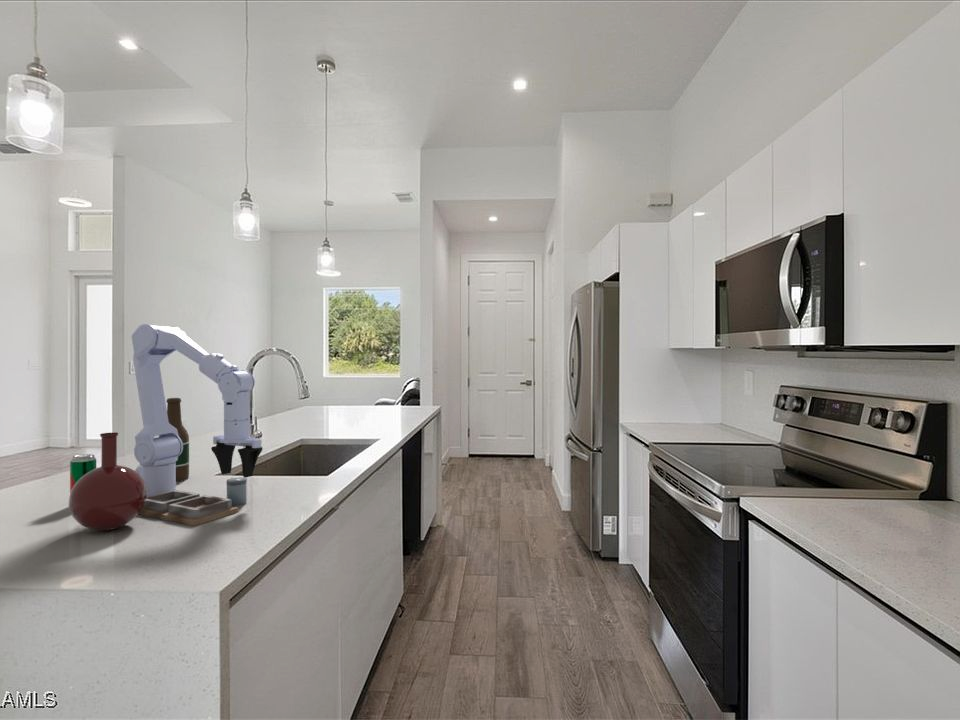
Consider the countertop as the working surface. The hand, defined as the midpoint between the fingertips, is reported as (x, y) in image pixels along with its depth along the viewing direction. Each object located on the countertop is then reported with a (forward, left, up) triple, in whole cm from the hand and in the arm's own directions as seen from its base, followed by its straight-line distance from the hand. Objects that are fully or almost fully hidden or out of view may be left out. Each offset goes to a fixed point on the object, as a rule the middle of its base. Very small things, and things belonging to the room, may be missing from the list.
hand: (236, 475), depth 125 cm
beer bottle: (-37, +9, -7) cm, 39 cm away
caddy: (-5, -10, -7) cm, 13 cm away
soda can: (-32, -17, -7) cm, 37 cm away
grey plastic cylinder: (0, 0, -7) cm, 7 cm away
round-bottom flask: (-8, -24, -7) cm, 27 cm away
